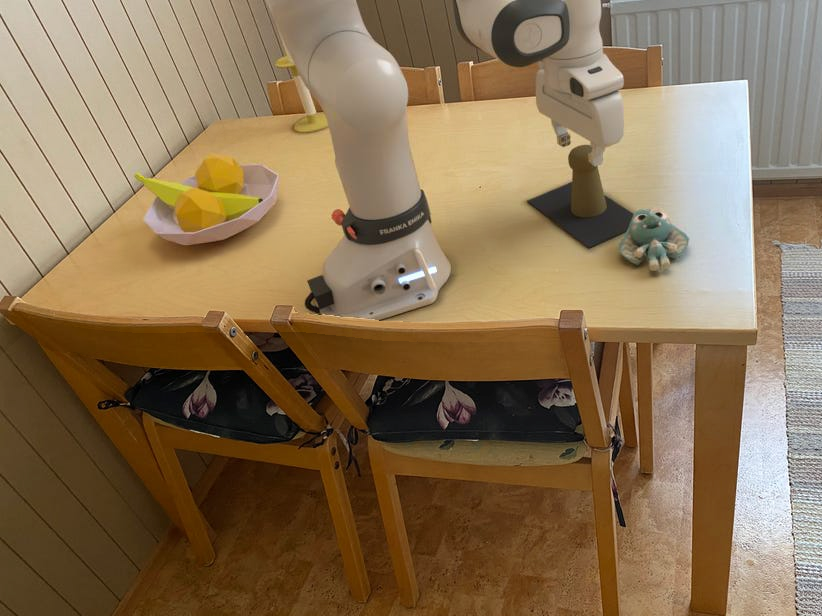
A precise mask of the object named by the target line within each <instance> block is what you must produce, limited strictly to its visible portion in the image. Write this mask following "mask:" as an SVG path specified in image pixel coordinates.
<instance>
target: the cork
mask: <svg viewBox="0 0 822 616" xmlns="http://www.w3.org/2000/svg"><path fill="white" fill-rule="evenodd" d="M592 149H593V147H591V144H581V145H577V146H575V147H573V148H572V149H571V150H570V152H569V154H568V155H567V160H568V165H569V168H570V169H571V170H572V174H571V175H572V176H571V180H572V181H571V182H572V201H571V212H572V213H573V214H574V215H575V216H578V217H584V218H588V217H594V216H597V215H600V214H601V213H603V212H604V211H605V210H606V208H607V206H606V201H605V197H604V195H605V192H604V188H603V184H602V179H601V176H600V171H599V165H598V166H596V167H595V166H593V165H592V164H590V163H589V162H588V160H589V158H588V154H589V153H591V152H592Z"/></svg>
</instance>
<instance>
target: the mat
mask: <svg viewBox="0 0 822 616" xmlns="http://www.w3.org/2000/svg"><path fill="white" fill-rule="evenodd" d="M604 197H605V201H606V206H607V208H606V210H605V211H604V212H603V213H601V214H600V215H597V216H594V217H588V218H584V217H578V216H575V215H574V214H573V213H572V212H571V201H572V181H571V182H569V183H566V184H564V185H561V186H559V187H557V188H553V189H552V190H549V191H547V192H545V193H542V194H539V195H537V196H535V197H533V198H530V199H528V200H527V203H528V204H529V205H531V206H532V207H533V208H534V209H536V210H537V211H538V212H540V213H541V214H542V215H543V216H544V217H546V218H547V219H549V220H550V221H551V222H553V223H554V224H555V225H557V227H560V228H561V229H562V230H563V231H565V232H566V233H567V234H569V235H570V236H572V237H573V238H574V239H575V240H577V241H578V242H579V243H581V245H583V246H584V247H586V248H587V249H589V250H590V249H592V248H594V247H596V246H598V245H601V244H603V243H605V242H608V241H609V240H612V239H614V238H616V237H619V236H621V235H623V234H625V233H626V231H627V230H628V228H629V225H630V222H631V220H632V217H633V215H634V213H633V212H631V211H630V210H629V209H627V208H625V207H624V206H622V205H621V204H619V203H618V202H616V201H615V200H613V199H612V198H610V197H609V196H607V195H605V194H604Z"/></svg>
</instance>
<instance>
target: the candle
mask: <svg viewBox="0 0 822 616" xmlns="http://www.w3.org/2000/svg"><path fill="white" fill-rule="evenodd" d="M274 23H275V25H276V22H275V21H274ZM276 28H277V31H278V35H279V37H280V40H281V43H282V47H283V48H284V52H285V56H283V57H281V58H278V59H277V60H276V61H275V63H274V65H275V67H276V68H277V69H290V72H291V75H292V77H293V81H294V83H295V86H296V90H297V92H298V95H299V98H300V102H301V104H302V107H303V110H304V114H305V117H303V118H301V119H299V120H298V121H297V122H296V123H294V126H293V129H294V130H295V132H297V133H299V134H308V133H313V132H318V131H320V130H323V129H325V128H327V127H329V126H328V122H327V119H326V116H325V114H324V112H319V113H317V110H316V107H315V104H314V101H313V99H312V96H311V95H312V94H311V92H310V91H309V90H308V89H307V87H306V86H305V85H304V83H303V81H302V79H301V77H300V75H299V73H298V71H297V69H296V66H295V64H294V62H293V60H292V58H291V56H290V54H289V51H288V49H287V47H286V45H285V43H284V40H283V38H282V36H281V34H280V31H279V29H278V27H277V25H276Z"/></svg>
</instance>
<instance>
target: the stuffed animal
mask: <svg viewBox="0 0 822 616" xmlns="http://www.w3.org/2000/svg"><path fill="white" fill-rule="evenodd" d="M633 214H634V215H633V217H632V220H631V222H630V225H629V228H628V230H627V231H626V232H625V233H624V235H623V237H622V239H621V240H620V242H619V243H618V245H617V246H618V247H617V251H619V253H620V254H621V256H623V257H624V259H625V260H626V261H628V262H629V263H632V264H634V265H637V266H638V265H640V264H641V263H642V262H643V261H645V259H646V258H647V259H648V267H649V269H650V271H651V272H655V271H658V270H659V269H660V268H661V269H662V270H668V269H669V268H670V267H671V262H670V261H671V260H670V258H672V259H674V260H677V259H679V258H680V257H681V255H682V254H683V253H684V252H685V250H686V249H687V247H689V246H688V245H689V241H690V238H689V237H688V235H687V234H686V233H685V232H683V231H682V230H680V229H679V227H676V226H675V225H674V224H673V223H672V222H671V220H670V216H669V215H668V214H667V213H666V211H664V209H662V208H660V207H657V206H656V207H652V208H647V209H639V210H637V211H635V212H634V213H633Z"/></svg>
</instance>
